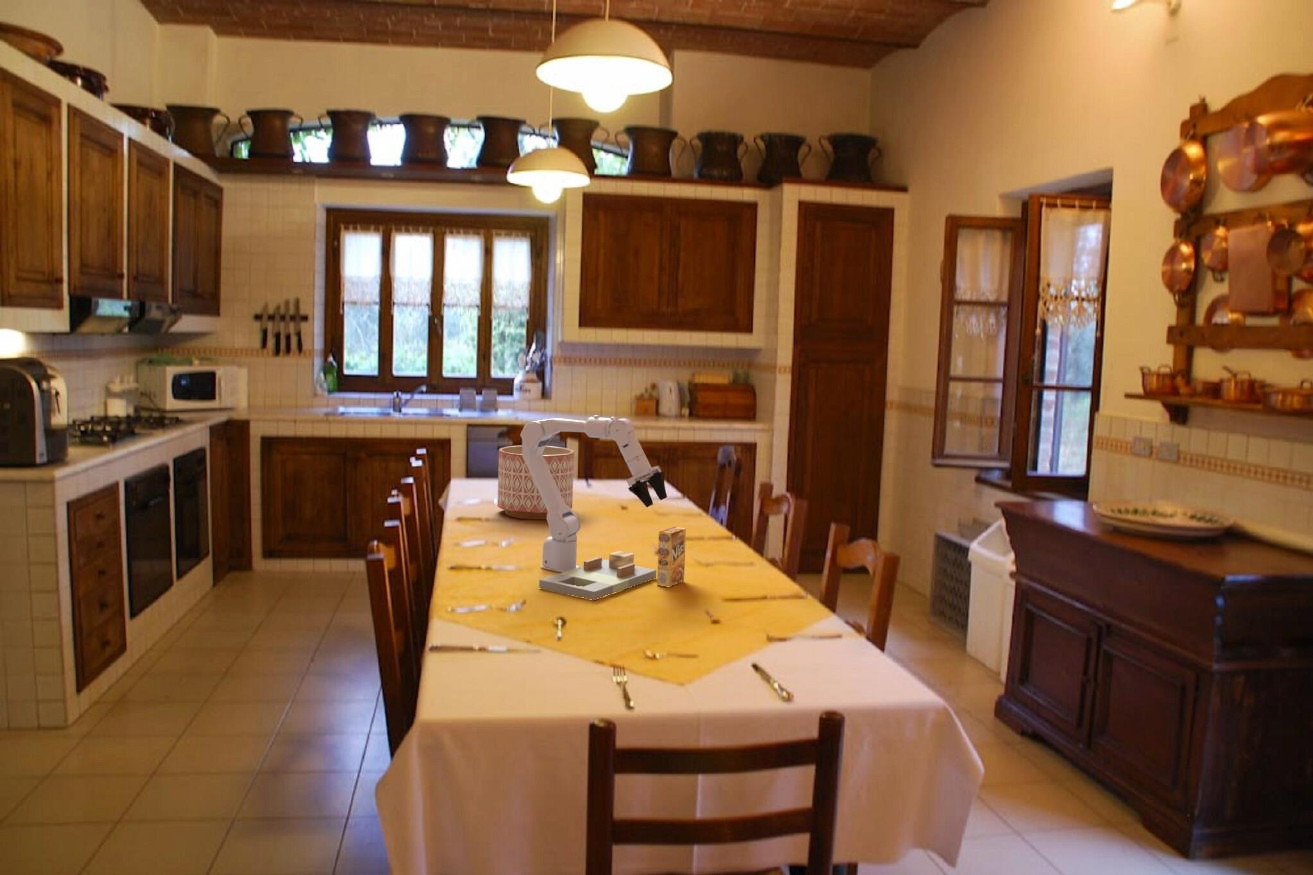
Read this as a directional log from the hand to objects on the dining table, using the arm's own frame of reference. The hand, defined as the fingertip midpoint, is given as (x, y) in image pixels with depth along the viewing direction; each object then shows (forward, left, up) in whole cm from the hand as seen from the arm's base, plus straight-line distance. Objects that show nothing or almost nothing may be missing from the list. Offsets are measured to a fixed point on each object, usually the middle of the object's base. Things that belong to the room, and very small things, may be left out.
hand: (657, 502), depth 276 cm
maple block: (-10, -2, -20) cm, 22 cm away
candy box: (+5, 0, -23) cm, 23 cm away
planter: (-85, +51, -23) cm, 101 cm away
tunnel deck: (-10, -13, -22) cm, 27 cm away
